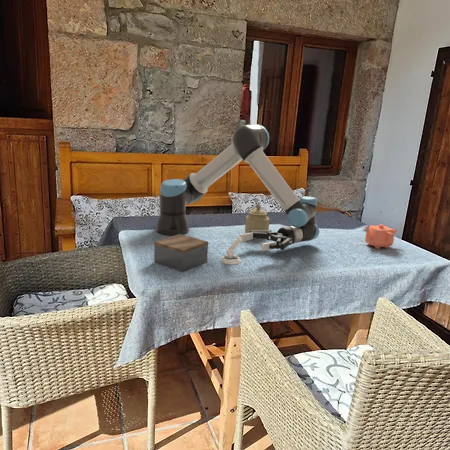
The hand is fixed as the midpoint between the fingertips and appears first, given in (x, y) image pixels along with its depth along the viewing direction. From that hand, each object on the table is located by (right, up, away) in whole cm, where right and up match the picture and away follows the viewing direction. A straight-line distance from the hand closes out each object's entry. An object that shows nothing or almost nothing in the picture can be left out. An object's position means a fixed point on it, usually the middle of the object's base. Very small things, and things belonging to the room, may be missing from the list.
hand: (250, 242), depth 166 cm
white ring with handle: (-8, -7, -4) cm, 11 cm away
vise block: (-27, -7, -8) cm, 29 cm away
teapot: (+59, -3, +24) cm, 64 cm away
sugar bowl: (+4, +3, +33) cm, 34 cm away
